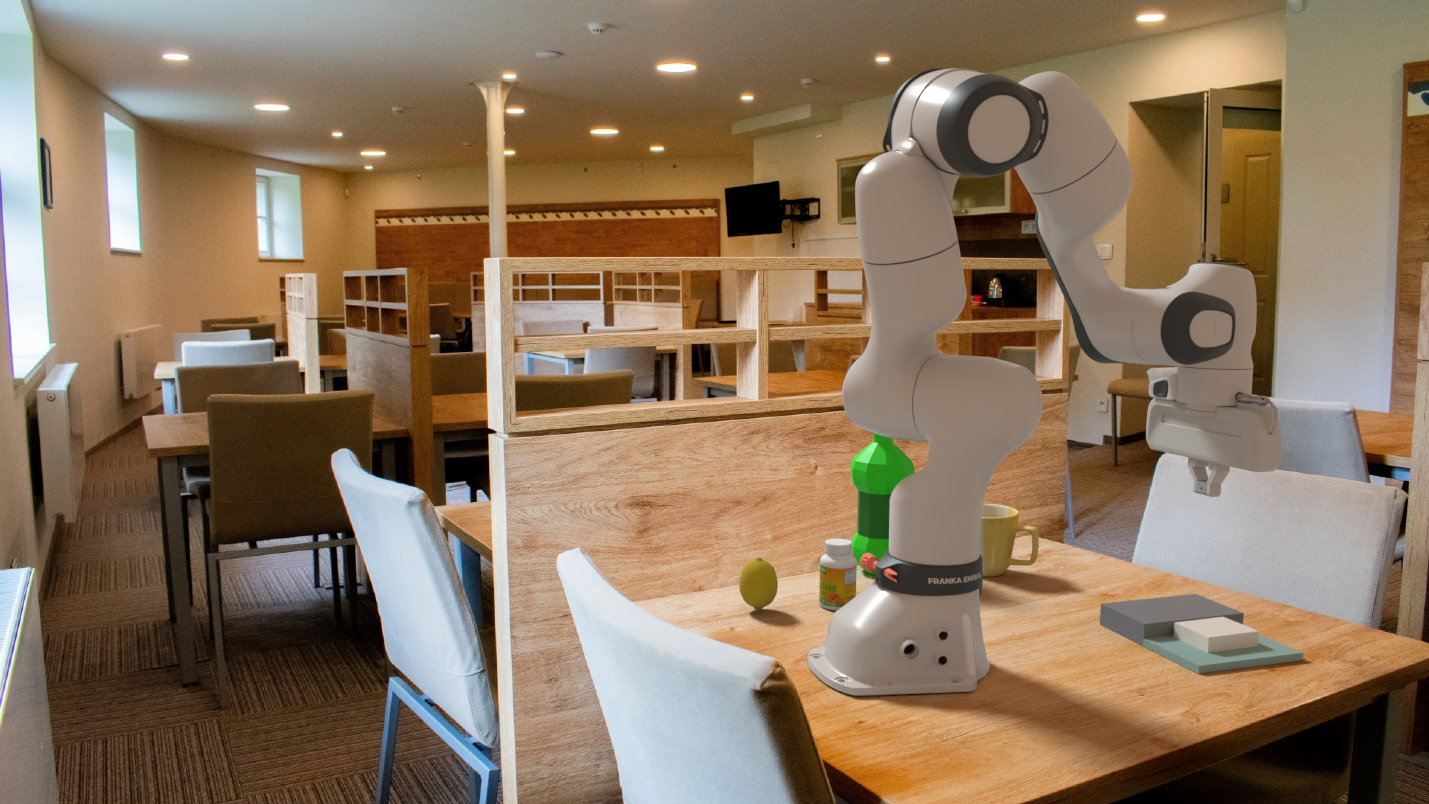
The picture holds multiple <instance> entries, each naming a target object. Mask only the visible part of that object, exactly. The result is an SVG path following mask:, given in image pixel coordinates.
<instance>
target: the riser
mask: <svg viewBox="0 0 1429 804" xmlns="http://www.w3.org/2000/svg"><path fill="white" fill-rule="evenodd" d="M1099 610H1100V613H1099V625H1101V626H1102V627H1104V628H1107V629H1108V630H1111V631H1112V632H1114V633H1116V634H1118V635H1120V636H1122V637H1124V638H1125V639H1128V640H1130V641H1132V642H1134V641H1135V642H1134V643H1137V644H1138V645H1140V644H1141V645H1140V646H1142V647H1144V646H1143V640H1144V639H1146V638H1154V637H1163V636H1172V635H1174V623H1175V622H1184V621H1192V620H1200V619H1208V618H1217V617H1225V618H1228V619H1230V620H1233V621H1235V622H1238V623H1240V624H1243V625H1244V615H1245V612H1242V611H1239V610H1237V609H1235V608H1232V607H1230V606H1227V605H1224V604H1222V603H1219V602H1217V601H1215V600H1213V599H1210V598H1207V597H1204V596H1202V595H1200V594H1197V593H1191V594H1189V593H1188V594H1180V595H1173V596H1172V595H1171V596H1163V597H1153V598H1151V597H1150V598H1141V599H1132V600H1130V599H1129V600H1123V601H1112V602H1104V603H1103V602H1102V603H1100V609H1099Z"/></svg>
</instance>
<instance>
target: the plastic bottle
mask: <svg viewBox="0 0 1429 804" xmlns="http://www.w3.org/2000/svg"><path fill="white" fill-rule="evenodd" d="M870 433H872V432H870ZM872 435H873V437H872V441H871V442H870V443H869V444H867V446H865V447H864V448H863V449H861V450H860V452H858V453H857V454H856V455H855V456H854V457H853V458H852V461H851V463H850V470H849V471H850V478H851V482H852V484H853V485H854V487H855V488H856V489H857V520H856V527H857V528H856V532H855V534H854V535H853V538H852V539H851V541H852V552H851V553H852V555H853V556H854V557H855V558H856V562H857V565H858V566H859V567H861V569H862V570H864V573H867V574H870V575H874V576H875V571H874V572H870V571H868V570H867V569H865V568H863V567H862V565H860V564H861V562H860V560H861V559H860V558H861V557H864V556H862V555H863V554H865V553H870V554H872V555H874V556H875V557H877V558H878V559H879V560H880V559H881V558H882V557H883V556H884V555H885V553H886V551H887V550H888V549H889V512H890V497H891V494H892V492H893V490H894V488H895V487H896V486H897V484H898V483H899V482H900V481H902V480H903V479H904V478H906V477H908V476H910V475H912V474H914V473H916V472H915V471H916V469H915V466H914V464H913V460H912V459H911V458H910V457H909V456H907V454H906V453H905V452H904V451H903V450H902V449H901V448H900V447H899V446H897V444H895V443H894V442H893V441H894V438H887V437H883V436H881V435H878V434H875V433H872Z"/></svg>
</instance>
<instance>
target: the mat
mask: <svg viewBox="0 0 1429 804" xmlns="http://www.w3.org/2000/svg"><path fill="white" fill-rule="evenodd" d="M1142 647H1144V648H1146V649H1149V650H1151V651H1152V650H1153V651H1152V652H1154V653H1156V654H1158V655H1160V656H1163V657H1164V658H1166V659H1168V660H1170V661H1172V662H1174V663H1177V664H1178V665H1180V666H1182V667H1184V668H1186V669H1188V670H1189V671H1193V672H1194V673H1195V674H1198V675H1200V674H1205V673H1213V672H1214V673H1215V672H1222V671H1229V670H1230V671H1231V670H1238V669H1245V668H1246V669H1247V668H1253V667H1260V666H1267V665H1268V666H1269V665H1278V664H1284V663H1292V662H1293V663H1294V662H1301V661H1303V660H1304V652H1302V651H1300V650H1298V649H1296V648H1293V647H1291V646H1288V645H1285V644H1284V643H1281V642H1278V641H1276V640H1274V639H1272V638H1269V637H1267V636H1264V635H1262V634H1260V633H1259V638H1258V646H1255V647H1247V648H1240V649H1232V650H1225V651H1217V652H1210V653H1207V652H1205V651H1203V650H1200V649H1198V648H1196V647H1194V646H1192V645H1189V644H1187V643H1185V642H1183V641H1181V640H1179V639H1176V638H1174V635H1172V636H1163V637H1154V638H1146V639H1144V640H1143V646H1142Z"/></svg>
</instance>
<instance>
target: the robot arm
mask: <svg viewBox="0 0 1429 804" xmlns="http://www.w3.org/2000/svg"><path fill="white" fill-rule="evenodd" d="M887 146H889V149H890V151H889V149H888V147H887ZM882 149H883V151H884V153H882V154H879V155H878V156H875V157H874V158H873V159H871V160H869V161H868V162H867V163H866V164H865V165H863V167H862V168H861V169H860V170H859V172H858V175H857V177H856V180H855V184H854V185H855V187H854V198H855V199H854V201H855V204H854V205H855V218H856V219H855V220H856V222H855V223H856V230H857V231H856V232H857V238H858V246H859V251H860V256H861V261H862V266H863V271H864V276H865V281H866V282H865V283H866V288H867V292H868V299H869V307H870V315H871V316H870V317H871V326H870V334H869V338H868V342H867V345H866V347H865V349H864V352H863V353H862V354H861V355H860V357H858V358H857V359H856V360H855V361H854V362H853V363H852V364H851V366H850V367H849V368H848V370H847V372H846V375H845V377H844V379H843V383H842V390H841V399H842V404H843V405H842V406H843V408H844V411H845V412H844V413H845V414H846V416H847V418H848V419H849V421H850V422H851V423H852V424H853V425H854V426H855V427H857V428H860V429H862V430H865V431H868V432H870V433H871V432H872V434H873V433H875V434H878V435H881V436H883V437H887V438H893V440H894V439H895V440H904V441H911V442H919V443H926V444H927V443H928V446H929V447H928V455H927V459H926V462H925V465H924V467H923V468H922V469H921V470H918V471H916V472H915V473H914V474H912V475H910V476H908V477H906V478H904V479H903V480H902V481H900V482H899V483H898V484H897V486H896V487H895V488H894V490H893V492H892V494H891V497H890V512H889V549H888V550H887V551H886V553H885V555H884V556H883V557H882V558H881V559H880V560H879V559H878V558H877V557H875V556H874V555H872V554H870V553H865V554H863V555H862V556H864V557H861V558H860V559H861V560H860V562H861V564H860V565H862V567H863V568H865V569H867V570H868V571H870V572H874V571H875V575H874V576H875V577H874V580H873V582H871V584H870V585H868V586H866V587H865V588H864V589H863V590H861V592H860V593H858V594H856V597H854V598H853V599H852V600H851V601H849V602H848V603H847V604H845V605H844V606H843V607H842V608H840V609H839V610H837V611H835V612H833V614H832V616H831V619H830V621H829V624H828V628H827V633H826V639H825V645H823V646H819V647H814V648H811V649H809V652H808V654H807V655H808V656H807V665H808V667H809V669H810V670H811V672H812V673H813V674H814V675H815V676H816V677H817V678H818V679H819V680H821V681H822V682H823V683H824V684H826V685H827V686H829V687H830V688H832V689H835V690H836V691H839V692H841V693H844V694H847V695H849V696H850V695H851V696H884V695H907V694H908V695H909V694H913V695H915V694H939V693H940V694H941V693H962V692H963V693H964V692H973V691H975V690H976V689H977V687H978V682H979V681H980V679H982V678H984V677H985V676H986V675H987V674H989V673H990V669H991V665H990V663H989V659H988V655H987V652H986V646H985V642H984V636H983V628H982V626H983V625H982V618H981V605H980V597H981V596H982V591H983V590H982V589H983V580H984V576H983V558H982V556H981V555H980V554H979V552H980V533H981V520H982V509H983V504H984V501H985V497H986V496H985V495H986V493H987V489H988V486H989V484H990V482H991V479H992V477H993V475H994V473H995V472H996V471H997V468H999V466H1000V464H1001V463H1002V462H1003V460H1005V458H1007V457H1008V456H1009V455H1010V454H1011V453H1012V452H1013V451H1015V450H1016V449H1018V448H1020V447H1021V446H1023V445H1024V444H1025V443H1026V442H1027V441H1028V440H1029V439H1030V438H1031V437H1032V436H1033V434H1034V433H1035V432H1036V431H1037V429H1038V426H1039V424H1040V422H1041V419H1042V417H1043V416H1042V415H1043V409H1044V400H1043V399H1044V397H1043V394H1042V389H1041V387H1040V384H1039V382H1038V380H1037V378H1036V377H1035V375H1034V373H1033V372H1032V371H1031V370H1030V369H1029V368H1028V367H1026V366H1023V365H1020V364H1017V363H1013V362H1010V361H1008V360H1003V359H999V358H996V357H991V356H977V355H965V354H963V355H962V354H961V355H960V354H946V353H942V352H940V350H939V348H938V346H937V345H938V344H937V333H938V332H940V331H941V330H943V329H945V328H946V327H948V326H950V325H951V324H952V323H953V322H955V320H957V318H958V317H959V316H960V315H961V313H962V312H963V311H964V308H965V305H966V301H967V297H968V292H967V287H966V279H965V274H964V267H963V262H962V255H961V250H960V249H961V248H960V244H959V238H958V233H957V227H956V224H955V220H954V219H955V218H954V216H953V215H954V214H953V211H952V210H953V202H954V201H953V200H954V191H955V190H956V189H955V188H956V185H957V181H958V180H959V178H960V175H963V176H965V177H970V178H976V179H978V178H979V179H980V178H990V177H994V176H999V175H1001V174H1004V173H1006V172H1008V171H1010V170H1012V169H1014V170H1015V171H1016V172H1017V175H1018V176H1019V178H1020V180H1021V182H1022V183H1023V185H1024V187H1025V188H1026V190H1027V192H1028V194H1030V197H1031V199H1032V201H1033V203H1034V204H1035V207H1036V213H1035V215H1034V216H1035V217H1034V228H1035V232H1036V236H1037V240H1038V242H1039V244H1040V247H1041V250H1042V251H1043V254H1044V256H1045V257H1044V258H1045V259H1046V261H1047V263H1048V265H1049V267H1050V270H1051V271H1052V274H1053V276H1054V278H1055V280H1056V283H1057V284H1058V285H1057V286H1058V287H1059V289H1060V290H1061V293H1062V296H1063V297H1064V300H1065V302H1066V304H1067V307H1068V309H1069V312H1070V315H1071V320H1072V323H1073V328H1074V333H1075V337H1076V339H1077V343H1078V345H1079V346H1080V348H1081V350H1082V351H1083V352H1084V354H1085V355H1086V356H1088V358H1090V359H1091V360H1092V361H1094V362H1096V363H1099V364H1103V365H1104V364H1135V365H1136V364H1138V365H1150V366H1168V367H1169V366H1170V367H1171V366H1172V367H1176V373H1174V374H1173V373H1172V374H1171V375H1167V376H1165V377H1162V378H1159V379H1156V380H1152V381H1151V382H1150V383H1149V384H1148V385H1149V386H1148V395H1149V397H1150V398H1153V399H1151V401H1150V402H1149V404H1148V407H1147V414H1146V425H1145V429H1146V430H1145V440H1146V442H1147V444H1148V447H1149V449H1151V450H1153V451H1158V452H1162V453H1168V454H1172V455H1176V456H1179V457H1180V456H1181V457H1183V458H1184V457H1185V458H1187V467H1188V470H1189V472H1190V475H1191V477H1192V479H1193V490H1192V491H1193V492H1194V493H1195V494H1200V495H1203V496H1207V497H1211V498H1215V497H1216V498H1218V497H1220V496H1221V491H1222V484H1223V482H1224V481H1225V479H1226V478H1227V477H1228V475H1229V474H1230V469H1231V468H1236V469H1239V470H1244V471H1248V472H1252V473H1271V472H1272V473H1273V472H1275V471H1277V469H1278V468H1279V467H1280V465H1281V463H1282V434H1281V426H1280V421H1279V410H1278V407H1277V406H1276V405H1275V403H1274V402H1273V401H1271V399H1270V398H1269V397H1268V396H1265V395H1253V394H1252V392H1253V391H1252V390H1253V374H1254V361H1253V359H1252V345H1253V342H1254V339H1255V338H1256V333H1257V332H1256V329H1257V317H1258V316H1257V310H1258V308H1257V306H1258V305H1257V304H1258V303H1257V288H1256V282H1255V279H1254V275H1253V273H1252V272H1251V270H1249V269H1247V268H1246V267H1244V266H1242V265H1239V264H1234V263H1230V262H1227V263H1225V262H1220V261H1203V262H1202V261H1201V262H1197V263H1194V264H1192V265H1190V266H1189V268H1188V271H1187V273H1186V275H1185V276H1183V278H1181V279H1179V280H1178V281H1177V282H1175V283H1173V284H1170V285H1166V287H1165V288H1131V287H1130V288H1129V287H1126V286H1123V285H1120V284H1118V283H1116V282H1114V281H1113V280H1111V279H1110V277H1109V275H1108V272H1107V271H1106V268H1105V266H1104V263H1103V261H1102V258H1101V257H1100V254H1099V251H1098V249H1097V247H1096V244H1095V243H1094V239H1093V236H1095V235H1096V234H1098V233H1099V232H1101V231H1102V230H1104V229H1105V228H1106V227H1107V226H1109V225H1110V224H1111V223H1112V222H1113V221H1114V220H1115V219H1116V217H1118V215H1119V214H1120V213H1121V212H1122V210H1123V209H1124V208H1125V207H1126V205H1127V203H1128V202H1129V199H1130V196H1131V193H1132V190H1133V186H1134V174H1133V173H1134V172H1133V168H1132V165H1131V162H1130V160H1129V157H1128V156H1127V153H1126V151H1125V150H1124V149H1123V146H1122V144H1121V143H1120V142H1119V140H1118V138H1117V136H1116V135H1115V132H1114V131H1113V129H1112V127H1111V126H1110V124H1109V123H1108V122H1107V120H1106V118H1105V117H1104V115H1103V113H1102V112H1101V111H1100V110H1099V109H1098V107H1097V106H1096V104H1095V103H1094V102H1093V101H1092V99H1091V98H1090V97H1089V96H1088V95H1087V94H1086V93H1085V91H1084V89H1082V88H1081V86H1079V85H1078V83H1076V81H1075V80H1074V79H1073V78H1071V76H1069V75H1067V74H1065V73H1063V72H1061V71H1054V70H1050V71H1049V70H1047V71H1041V72H1038V73H1035V74H1032V75H1029V76H1027V77H1025V78H1023V79H1022V80H1020V81H1019V82H1016V81H1015V80H1013V79H1010V78H1009V77H1006V76H1004V75H999V74H994V73H985V72H979V71H978V70H975V69H972V68H971V69H970V68H964V67H963V68H961V67H959V68H955V67H953V68H952V67H951V68H931V69H930V68H929V69H926V70H924V71H921V72H919V73H917V74H915V75H912V77H911V76H910V78H908V79H907V80H906V81H905V82H903V83H902V84H901V86H900V87H898V89H897V91H896V92H895V95H894V96H893V97H892V101H891V103H890V107H889V111H888V118H887V127H886V128H885V132H884V136H883V139H882ZM1206 468H1208V471H1211V472H1210V474H1209V475H1208V472H1207V469H1206Z"/></svg>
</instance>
